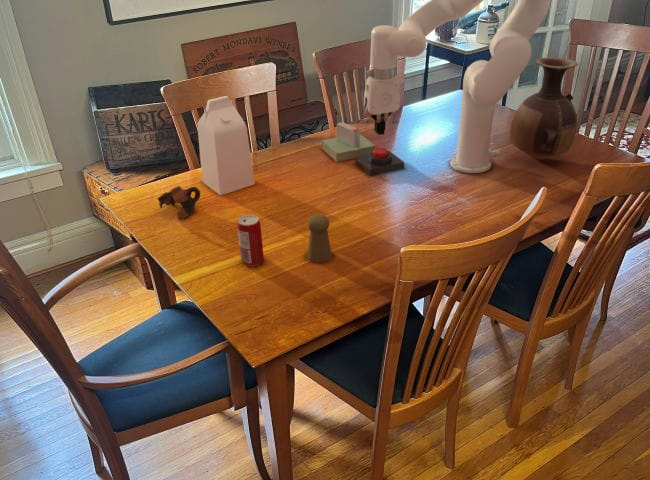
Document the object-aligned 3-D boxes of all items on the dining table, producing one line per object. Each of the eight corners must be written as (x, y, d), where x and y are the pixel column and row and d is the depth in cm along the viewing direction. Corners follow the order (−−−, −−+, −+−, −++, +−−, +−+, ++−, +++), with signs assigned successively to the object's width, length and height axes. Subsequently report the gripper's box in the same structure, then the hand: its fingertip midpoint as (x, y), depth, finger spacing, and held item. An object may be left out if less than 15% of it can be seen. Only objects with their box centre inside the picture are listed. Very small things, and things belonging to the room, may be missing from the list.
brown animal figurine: (174, 225, 170) (157, 199, 167) (167, 225, 179) (152, 200, 176) (210, 203, 173) (194, 177, 171) (202, 203, 182) (187, 179, 179)
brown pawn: (306, 250, 157) (305, 212, 150) (330, 248, 157) (329, 210, 151) (308, 263, 152) (306, 224, 146) (332, 261, 153) (332, 222, 146)
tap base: (337, 162, 199) (337, 153, 197) (321, 148, 209) (320, 139, 207) (375, 154, 203) (376, 145, 201) (358, 140, 213) (358, 132, 211)
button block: (388, 157, 201) (389, 145, 199) (404, 168, 194) (404, 156, 192) (355, 163, 198) (356, 152, 195) (370, 176, 190) (370, 164, 188)
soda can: (266, 255, 155) (262, 213, 148) (261, 267, 151) (256, 225, 144) (244, 254, 156) (239, 212, 149) (239, 266, 152) (233, 223, 145)
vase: (558, 178, 186) (581, 77, 168) (495, 165, 194) (511, 67, 176) (577, 151, 201) (600, 56, 183) (518, 140, 210) (535, 48, 192)
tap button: (383, 151, 196) (383, 146, 195) (389, 157, 193) (389, 151, 192) (370, 154, 195) (370, 149, 194) (377, 159, 191) (377, 154, 190)
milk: (236, 171, 196) (226, 89, 180) (255, 184, 188) (246, 99, 172) (202, 181, 190) (189, 98, 175) (220, 195, 183) (208, 109, 167)
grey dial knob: (336, 139, 206) (336, 123, 203) (342, 137, 207) (342, 121, 204) (354, 147, 201) (354, 130, 197) (359, 145, 202) (360, 129, 198)
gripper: (365, 79, 173) (363, 141, 184) (411, 72, 178) (406, 133, 189) (353, 72, 179) (352, 132, 190) (399, 65, 183) (395, 125, 194)
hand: (379, 133), depth 189 cm, fingers closed
